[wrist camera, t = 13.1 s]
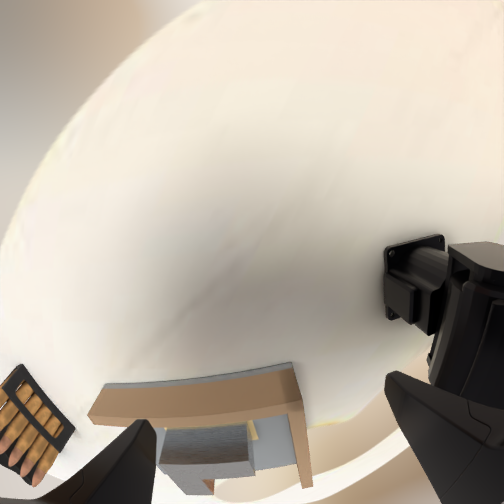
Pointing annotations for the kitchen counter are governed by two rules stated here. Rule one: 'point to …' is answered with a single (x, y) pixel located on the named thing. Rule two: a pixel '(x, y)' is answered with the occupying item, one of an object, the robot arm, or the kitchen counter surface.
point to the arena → (220, 411)
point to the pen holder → (5, 456)
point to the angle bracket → (207, 455)
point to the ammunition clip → (31, 424)
